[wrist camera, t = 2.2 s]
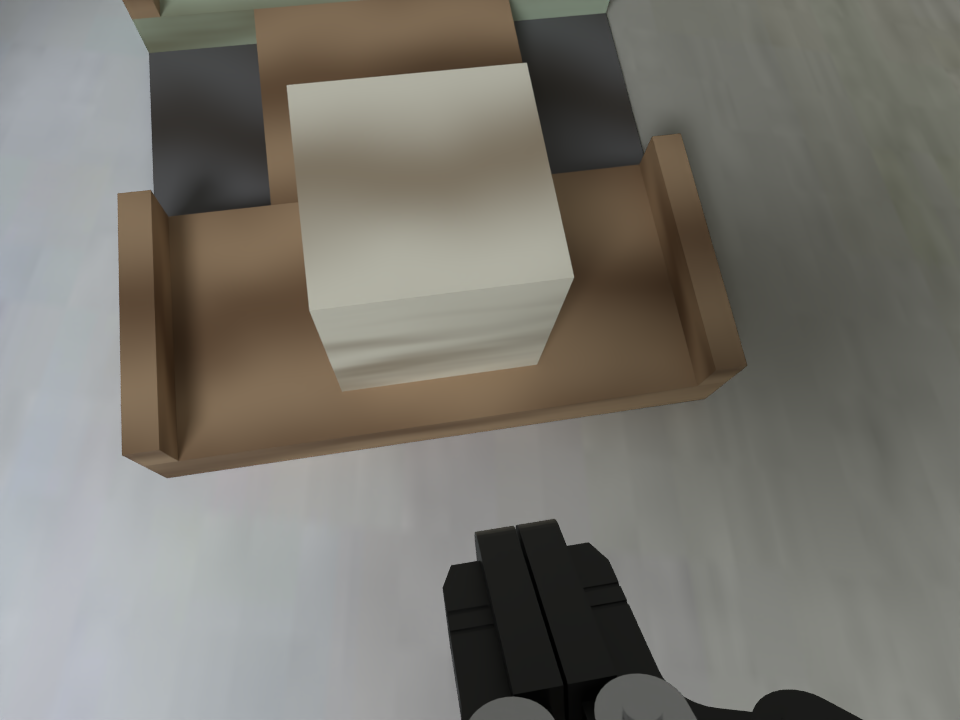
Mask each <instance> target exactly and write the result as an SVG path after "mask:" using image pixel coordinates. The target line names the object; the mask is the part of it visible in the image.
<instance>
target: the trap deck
mask: <svg viewBox="0 0 960 720" xmlns="http://www.w3.org/2000/svg"><path fill="white" fill-rule="evenodd" d="M609 1H610V0H123V2H124V4H125V6H126V8H127V10H128V12H129V14H130V16H131V18H132V20H133V22H134V24H135V26H136V28H137V30H138V32H139V34H140V36H141V38H142V40H143V42H144V44H145V46H146V48H147V50H148V52H149V64H150V93H151V122H152V152H153V181H154V194H153V193H152V191H151V190H146V191H137V192H128V193H118V248H119V307H120V365H121V423H122V455H123V456H125V457H127V458H129V459H131V460H132V461H134V462H136V463H138V464H140V465H142V466H144V467H146V468H148V469H150V470H152V471H154V472H156V473H158V474H160V475H162V476H164V477H166V478H171V477H178V476H185V475H192V474H198V473H205V472H212V471H219V470H225V469H232V468H239V467H246V466H253V465H259V464H266V463H273V462H280V461H287V460H293V459H300V458H307V457H314V456H321V455H327V454H334V453H341V452H348V451H354V450H361V449H368V448H375V447H382V446H388V445H395V444H402V443H409V442H416V441H422V440H429V439H436V438H443V437H450V436H456V435H463V434H470V433H477V432H483V431H490V430H497V429H504V428H511V427H517V426H524V425H531V424H538V423H545V422H551V421H558V420H565V419H572V418H578V417H585V416H592V415H599V414H606V413H612V412H619V411H626V410H633V409H640V408H646V407H653V406H660V405H667V404H674V403H680V402H687V401H694V400H701V399H705V398H707V397H708V396H709V395H711V394H712V393H713V392H714V391H716V390H717V389H718V388H719V387H721V386H722V385H723V384H725V383H726V382H727V381H728V380H730V379H731V378H732V377H734V376H735V375H736V374H737V373H739V372H740V371H741V370H742V369H744V368H745V367H746V366H747V363H746V359H745V356H744V352H743V349H742V345H741V342H740V338H739V335H738V331H737V328H736V324H735V321H734V317H733V314H732V310H731V307H730V303H729V300H728V296H727V293H726V290H725V286H724V283H723V279H722V276H721V272H720V269H719V265H718V262H717V258H716V255H715V251H714V248H713V244H712V241H711V237H710V234H709V230H708V227H707V223H706V220H705V216H704V213H703V210H702V206H701V203H700V199H699V196H698V192H697V189H696V185H695V182H694V178H693V175H692V171H691V168H690V164H689V161H688V157H687V154H686V150H685V147H684V143H683V140H682V136H681V134H671V135H662V136H653V137H652V138H651V140H650V142H649V145H648V147H647V149H646V151H645V153H644V154H643V150H642V146H641V143H640V139H639V135H638V131H637V128H636V124H635V120H634V116H633V113H632V109H631V105H630V101H629V98H628V94H627V90H626V86H625V83H624V79H623V75H622V71H621V68H620V64H619V60H618V56H617V53H616V49H615V45H614V42H613V38H612V34H611V30H610V27H609V23H608V19H607V15H606V11H607V8H608V4H609ZM518 63H527V66H528V71H529V75H530V80H531V84H532V89H533V93H534V98H535V102H536V107H537V111H538V116H539V120H540V125H541V129H542V134H543V138H544V143H545V147H546V152H547V157H548V161H549V166H550V170H551V175H552V179H553V184H554V188H555V193H556V197H557V202H558V206H559V211H560V215H561V220H562V224H563V229H564V233H565V238H566V242H567V247H568V251H569V256H570V260H571V265H572V270H573V274H574V279H573V281H572V284H571V286H570V288H569V291H568V293H567V295H566V298H565V300H564V302H563V305H562V307H561V310H560V312H559V314H558V317H557V319H556V321H555V324H554V326H553V328H552V331H551V333H550V335H549V338H548V340H547V342H546V345H545V347H544V350H543V352H542V354H541V357H540V359H539V361H538V364H537V365H531V366H524V367H516V368H509V369H502V370H495V371H488V372H480V373H473V374H466V375H459V376H451V377H444V378H437V379H430V380H423V381H415V382H408V383H401V384H394V385H387V386H379V387H372V388H365V389H358V390H350V391H343V392H342V390H341V388H340V385H339V383H338V380H337V378H336V375H335V373H334V370H333V368H332V366H331V363H330V361H329V358H328V356H327V353H326V351H325V348H324V346H323V343H322V341H321V338H320V336H319V333H318V331H317V328H316V326H315V324H314V321H313V319H312V316H311V314H310V311H309V303H308V293H307V283H306V273H305V263H304V253H303V243H302V233H301V223H300V214H299V204H298V194H297V184H296V174H295V164H294V154H293V144H292V134H291V124H290V115H289V105H288V95H287V85H294V84H304V83H315V82H326V81H336V80H347V79H358V78H368V77H379V76H390V75H400V74H411V73H422V72H432V71H443V70H454V69H464V68H475V67H486V66H496V65H507V64H518Z"/></svg>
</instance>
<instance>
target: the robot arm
mask: <svg viewBox="0 0 960 720" xmlns="http://www.w3.org/2000/svg"><path fill="white" fill-rule="evenodd" d="M475 546H476V556H477V561H475V562H469V563H463V564H457V565H451V567H450V570H449V572H448V575H447V578H446V580H445V583H444V586H443V594H444V602H445V610H446V618H447V625H448V633H449V641H450V649H451V655H452V662H453V668H454V674H455V681H456V688H457V694H458V701H459V707H460V714H461V720H862V719H860V718H859V717H857V716H855V715H853V714H851V713H849V712H847V711H845V710H844V709H842V708H840V707H838V706H836V705H834V704H832V703H830V702H829V701H827V700H825V699H823V698H821V697H819V696H816V695H814V694H811V693H808V692H804V691H799V690H779V691H775V692H772V693H769V694H767V695H765V696H764V697H763V698H761V699H760V700H759V701H758V703H757V704H756V705H755V707H754V709H753V712H747V711H738V710H729V709H720V708H714V707H708V706H704V705H701V704H698V703H695V702H693V701H691V700H689V699H687V698H685V697H684V696H683V695H682V694H681V693H680V692H679V691H678V690H677V689H676V688H675V687H673V686H672V685H671V684H670V683H668V682H666V681H665V680H664V678H663V677H662V675H661V673H660V672H659V670H658V668H657V665H656V663H655V661H654V659H653V657H652V654H651V652H650V650H649V648H648V646H647V643H646V641H645V639H644V637H643V635H642V632H641V630H640V628H639V626H638V624H637V621H636V619H635V617H634V615H633V613H632V610H631V608H630V606H629V604H627V599H626V597H625V595H624V593H623V591H622V588H621V586H619V583H618V580H617V577H616V575H615V573H614V571H613V569H612V567H611V564H610V562H609V560H608V559H607V558H606V557H605V556H604V555H602V554H601V553H600V552H599V551H598V550H597V549H596V548H594V547H593V546H592V545H591V544H590V543H589V542H588V543H582V544H576V545H570V546H567V545H566V543H565V540H564V538H563V535H562V533H561V530H560V528H559V525H558V523H557V521H556V520H555V519H551V520H545V521H539V522H533V523H526V524H520V525H516V530H515V527H514V526H509V527H503V528H497V529H490V530H484V531H478V532H475Z"/></svg>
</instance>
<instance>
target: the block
mask: <svg viewBox="0 0 960 720" xmlns="http://www.w3.org/2000/svg"><path fill="white" fill-rule="evenodd" d="M287 95H288V105H289V115H290V124H291V134H292V144H293V154H294V164H295V174H296V184H297V194H298V204H299V214H300V223H301V233H302V243H303V253H304V263H305V273H306V283H307V293H308V303H309V311H310V314H311V316H312V319H313V321H314V324H315V326H316V328H317V331H318V333H319V336H320V338H321V341H322V343H323V346H324V348H325V351H326V353H327V356H328V358H329V361H330V363H331V366H332V368H333V370H334V373H335V375H336V378H337V380H338V383H339V385H340V388H341V390H342V392H343V391H350V390H358V389H365V388H372V387H379V386H387V385H394V384H401V383H408V382H415V381H423V380H430V379H437V378H444V377H451V376H459V375H466V374H473V373H480V372H488V371H495V370H502V369H509V368H516V367H524V366H531V365H537V364H538V361H539V359H540V357H541V354H542V352H543V350H544V347H545V345H546V342H547V340H548V338H549V335H550V333H551V331H552V328H553V326H554V324H555V321H556V319H557V317H558V314H559V312H560V310H561V307H562V305H563V302H564V300H565V298H566V295H567V293H568V291H569V288H570V286H571V284H572V281H573V279H574V274H573V270H572V265H571V260H570V256H569V251H568V247H567V242H566V238H565V233H564V229H563V224H562V220H561V215H560V211H559V206H558V202H557V197H556V193H555V188H554V184H553V179H552V175H551V170H550V166H549V161H548V157H547V152H546V147H545V143H544V138H543V134H542V129H541V125H540V120H539V116H538V111H537V107H536V102H535V98H534V93H533V89H532V84H531V80H530V75H529V71H528V66H527V63H518V64H507V65H496V66H486V67H475V68H464V69H454V70H443V71H432V72H422V73H411V74H400V75H390V76H379V77H368V78H358V79H347V80H336V81H326V82H315V83H304V84H294V85H287Z"/></svg>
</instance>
